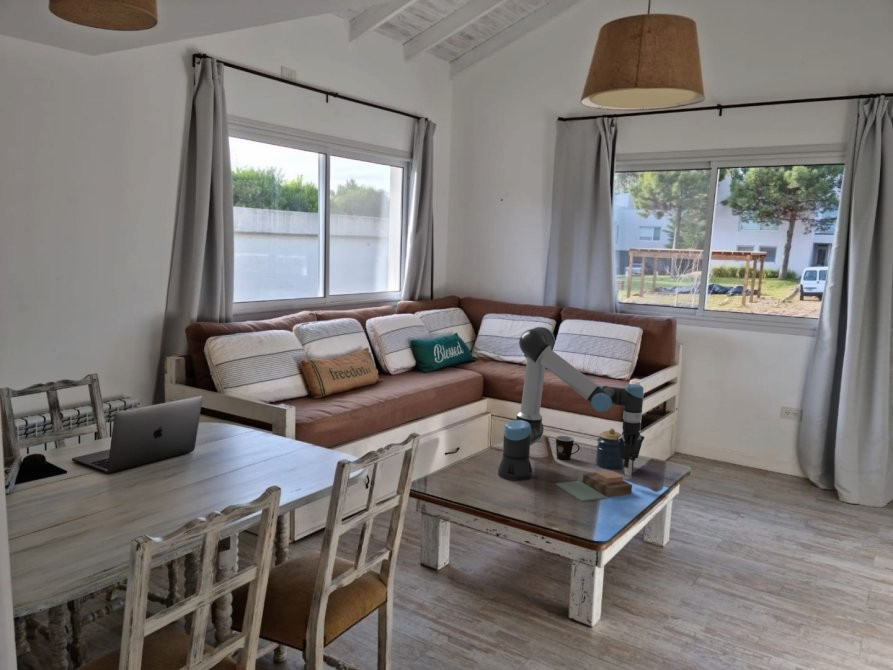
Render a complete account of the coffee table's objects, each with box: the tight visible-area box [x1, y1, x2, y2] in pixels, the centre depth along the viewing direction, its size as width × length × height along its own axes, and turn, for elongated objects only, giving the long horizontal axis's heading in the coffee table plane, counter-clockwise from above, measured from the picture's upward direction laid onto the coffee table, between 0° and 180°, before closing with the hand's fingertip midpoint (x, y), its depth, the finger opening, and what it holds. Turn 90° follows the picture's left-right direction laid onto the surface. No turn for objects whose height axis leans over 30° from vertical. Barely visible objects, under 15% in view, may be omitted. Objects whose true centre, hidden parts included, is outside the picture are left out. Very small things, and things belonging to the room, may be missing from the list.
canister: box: [595, 428, 625, 470], centre depth 322 cm, size 13×13×18 cm
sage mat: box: [555, 480, 608, 502], centre depth 287 cm, size 20×12×1 cm, turn 22°
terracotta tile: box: [596, 470, 624, 483], centre depth 292 cm, size 8×8×2 cm
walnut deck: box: [582, 471, 633, 498], centre depth 292 cm, size 18×12×4 cm, turn 22°
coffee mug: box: [555, 435, 581, 461], centre depth 328 cm, size 12×9×10 cm
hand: (627, 474), depth 295 cm, fingers closed
